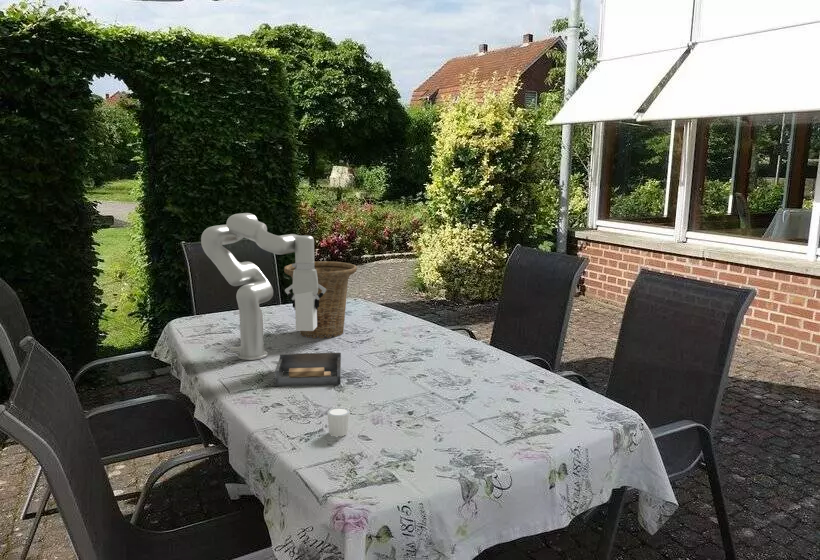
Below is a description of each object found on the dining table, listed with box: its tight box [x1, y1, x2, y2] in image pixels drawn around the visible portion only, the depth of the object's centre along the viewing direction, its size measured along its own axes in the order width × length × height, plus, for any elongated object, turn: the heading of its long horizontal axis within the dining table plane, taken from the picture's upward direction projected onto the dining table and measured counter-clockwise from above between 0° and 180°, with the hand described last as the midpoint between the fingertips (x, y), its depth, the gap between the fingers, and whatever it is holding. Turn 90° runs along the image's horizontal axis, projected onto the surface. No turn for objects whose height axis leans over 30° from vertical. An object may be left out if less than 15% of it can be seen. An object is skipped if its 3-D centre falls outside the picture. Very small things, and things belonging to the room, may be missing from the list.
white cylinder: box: [326, 407, 351, 437], centre depth 190 cm, size 7×7×7 cm
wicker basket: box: [283, 260, 358, 339], centre depth 304 cm, size 35×35×33 cm
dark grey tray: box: [274, 352, 342, 387], centre depth 241 cm, size 24×18×7 cm
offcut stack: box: [288, 367, 332, 377], centre depth 235 cm, size 16×5×5 cm, turn 96°
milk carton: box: [294, 291, 317, 332], centre depth 253 cm, size 7×7×19 cm
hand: (306, 308), depth 254 cm, fingers closed on milk carton, 8 cm apart
